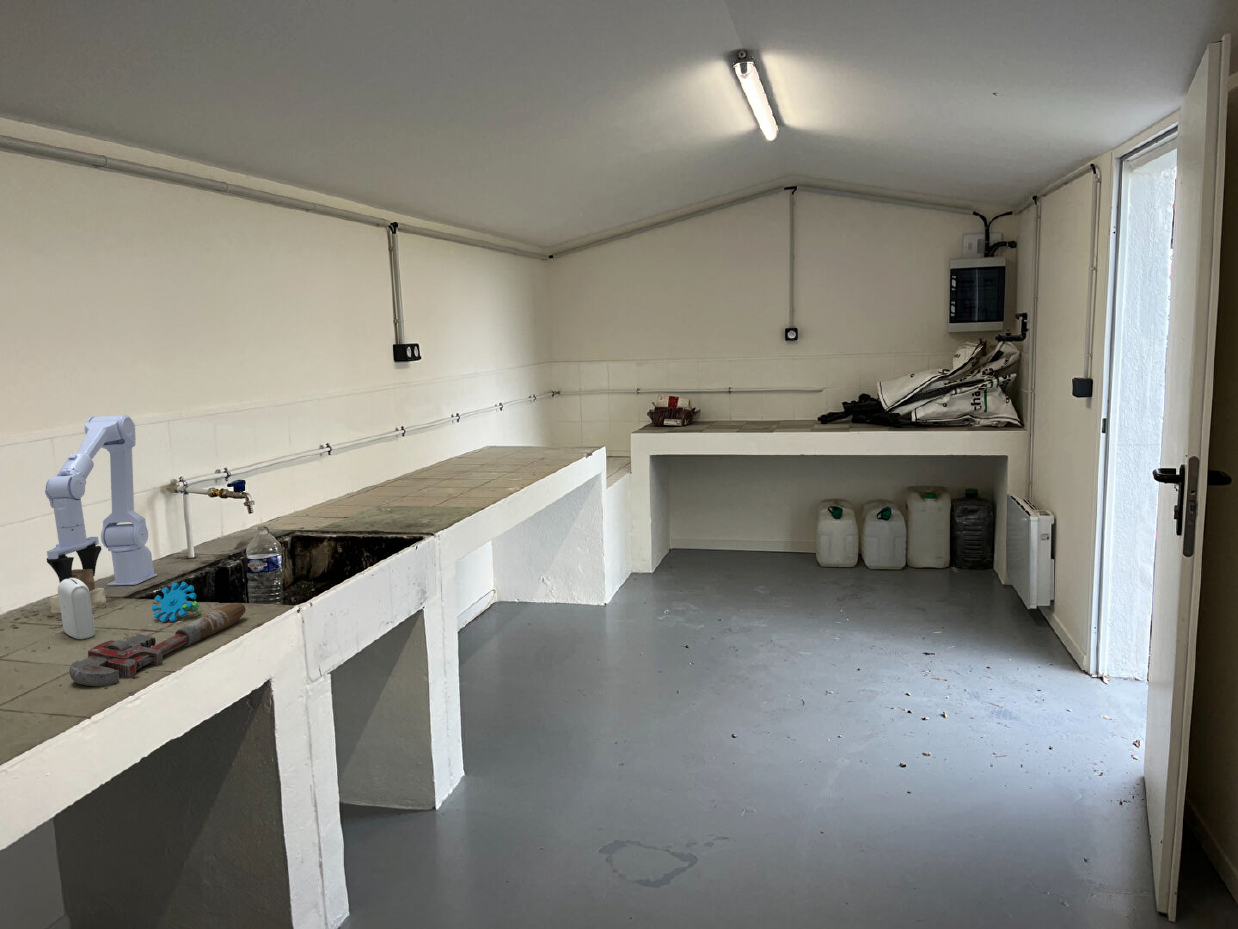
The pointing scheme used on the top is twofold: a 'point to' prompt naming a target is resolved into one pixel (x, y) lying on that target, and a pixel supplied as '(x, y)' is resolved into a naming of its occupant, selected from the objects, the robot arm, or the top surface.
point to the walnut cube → (84, 577)
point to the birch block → (95, 596)
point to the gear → (175, 602)
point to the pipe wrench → (146, 649)
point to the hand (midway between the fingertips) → (78, 581)
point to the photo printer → (76, 608)
